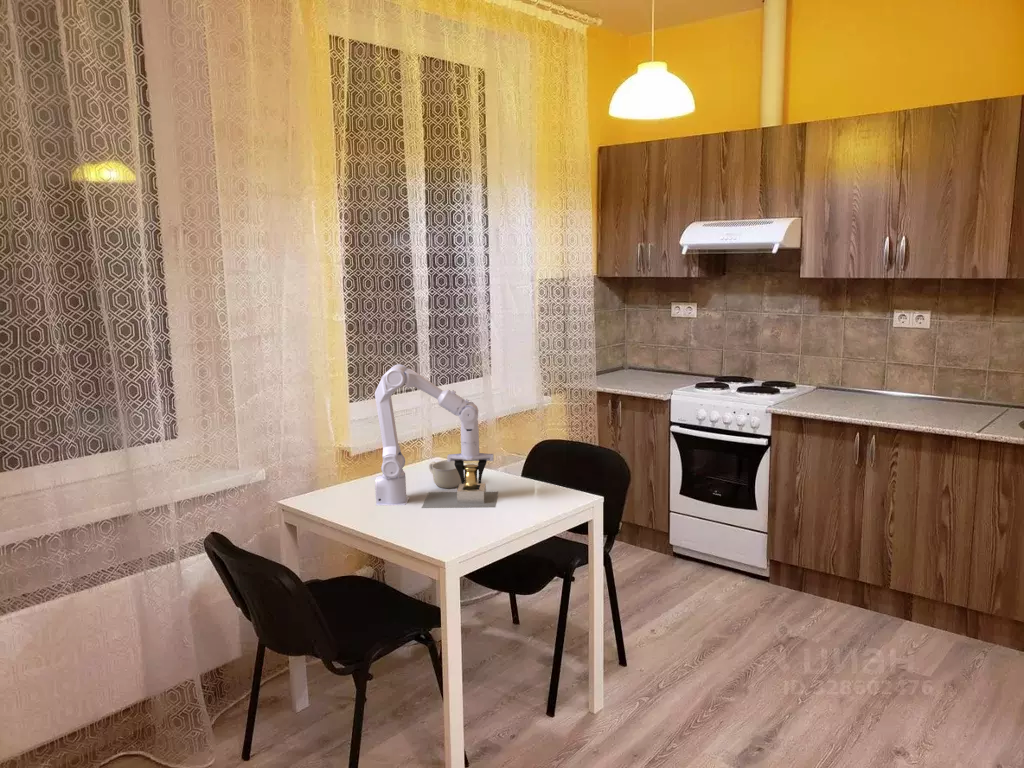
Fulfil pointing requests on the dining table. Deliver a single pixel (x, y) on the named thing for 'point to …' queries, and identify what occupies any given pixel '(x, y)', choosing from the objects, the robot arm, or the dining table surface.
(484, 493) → the block
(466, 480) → the brass door knob
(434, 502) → the mat
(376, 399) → the robot arm
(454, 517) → the dining table surface
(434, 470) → the teacup
